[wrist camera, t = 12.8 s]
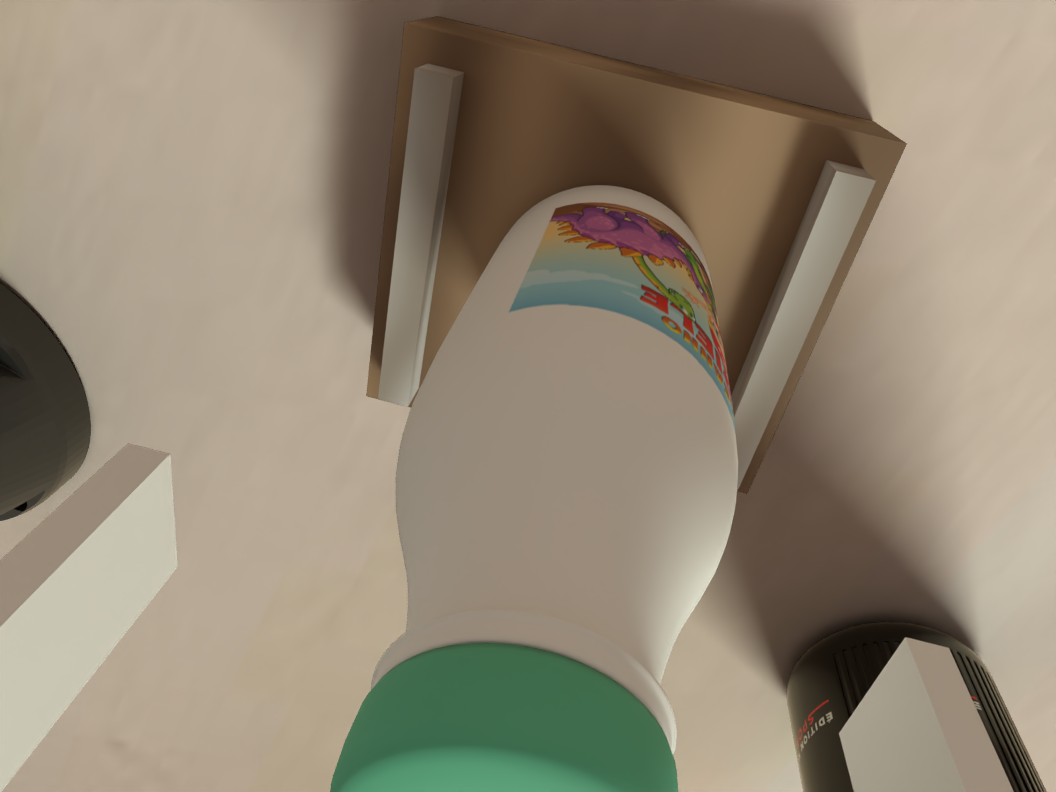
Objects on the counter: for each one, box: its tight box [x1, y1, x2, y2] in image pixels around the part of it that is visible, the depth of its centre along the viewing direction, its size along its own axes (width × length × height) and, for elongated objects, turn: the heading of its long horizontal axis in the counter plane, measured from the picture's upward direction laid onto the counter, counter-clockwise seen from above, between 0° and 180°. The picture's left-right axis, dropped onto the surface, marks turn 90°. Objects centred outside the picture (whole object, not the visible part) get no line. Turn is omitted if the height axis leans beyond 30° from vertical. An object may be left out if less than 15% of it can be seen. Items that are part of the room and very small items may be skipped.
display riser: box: [366, 16, 906, 493], centre depth 28 cm, size 16×14×6 cm
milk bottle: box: [330, 185, 738, 792], centre depth 18 cm, size 8×8×20 cm
